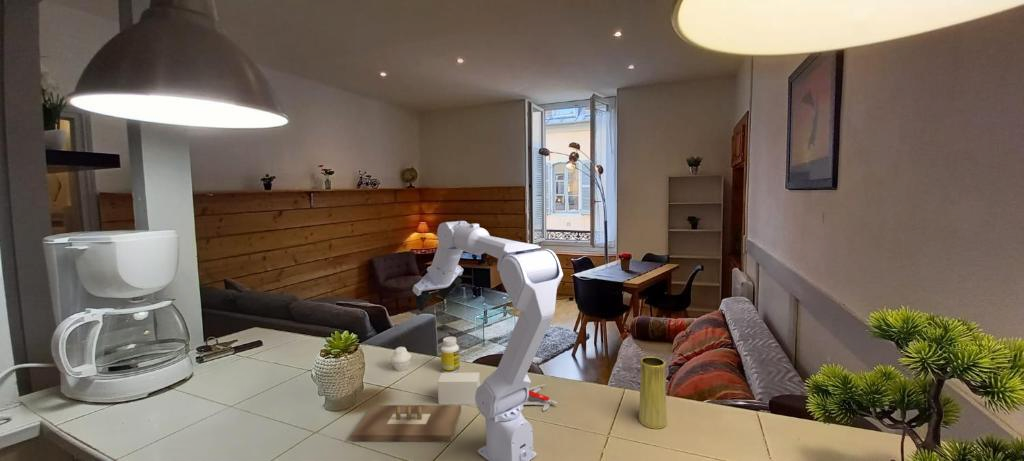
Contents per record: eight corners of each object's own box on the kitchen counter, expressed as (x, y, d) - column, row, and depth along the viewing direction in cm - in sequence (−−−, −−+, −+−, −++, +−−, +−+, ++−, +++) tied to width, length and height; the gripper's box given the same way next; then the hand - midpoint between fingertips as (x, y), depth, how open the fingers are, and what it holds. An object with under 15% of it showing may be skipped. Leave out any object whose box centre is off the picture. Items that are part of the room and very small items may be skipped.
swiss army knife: (569, 396, 102) (569, 389, 102) (541, 422, 91) (541, 414, 91) (533, 385, 109) (532, 378, 109) (502, 407, 98) (502, 399, 98)
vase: (649, 431, 86) (649, 368, 85) (633, 416, 92) (633, 357, 91) (673, 426, 88) (673, 364, 87) (656, 411, 94) (656, 353, 92)
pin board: (461, 410, 97) (460, 393, 97) (451, 441, 85) (450, 422, 85) (373, 411, 98) (372, 393, 98) (351, 441, 86) (349, 422, 86)
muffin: (391, 366, 124) (389, 344, 123) (411, 363, 126) (410, 341, 125) (391, 374, 118) (389, 352, 117) (412, 371, 120) (411, 349, 119)
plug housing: (480, 394, 105) (479, 372, 104) (477, 404, 100) (476, 381, 99) (443, 394, 105) (442, 372, 105) (438, 404, 100) (437, 381, 100)
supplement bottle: (456, 374, 116) (454, 342, 115) (439, 373, 118) (437, 341, 117) (462, 366, 122) (460, 335, 121) (445, 365, 123) (444, 335, 122)
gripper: (455, 244, 100) (441, 281, 107) (409, 262, 89) (398, 302, 97) (474, 261, 98) (459, 299, 105) (429, 282, 87) (416, 322, 94)
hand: (431, 302), depth 101 cm, fingers open, 7 cm apart
